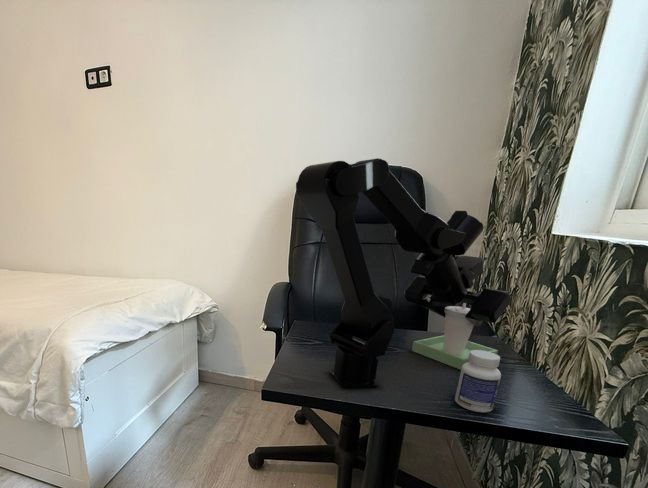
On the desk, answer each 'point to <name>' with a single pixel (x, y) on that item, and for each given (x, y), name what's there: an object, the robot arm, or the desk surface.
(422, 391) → the desk surface
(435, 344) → the tray
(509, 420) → the desk surface
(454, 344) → the smoothie
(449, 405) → the desk surface
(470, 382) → the pill bottle
